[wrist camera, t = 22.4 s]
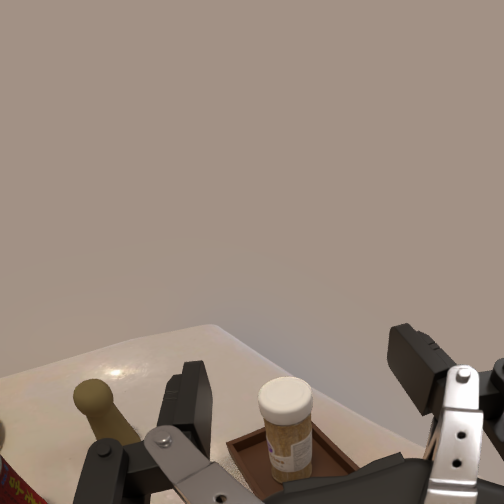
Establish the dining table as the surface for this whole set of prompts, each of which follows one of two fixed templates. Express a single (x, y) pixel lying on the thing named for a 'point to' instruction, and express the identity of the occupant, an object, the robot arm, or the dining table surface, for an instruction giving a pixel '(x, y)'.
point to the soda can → (15, 487)
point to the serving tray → (259, 465)
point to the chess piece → (103, 412)
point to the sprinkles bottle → (288, 427)
